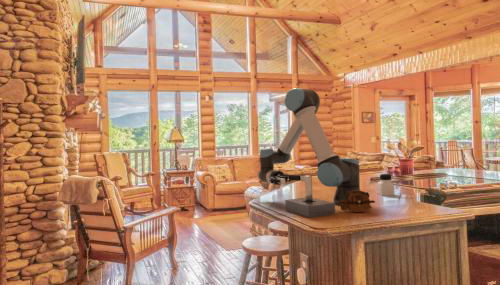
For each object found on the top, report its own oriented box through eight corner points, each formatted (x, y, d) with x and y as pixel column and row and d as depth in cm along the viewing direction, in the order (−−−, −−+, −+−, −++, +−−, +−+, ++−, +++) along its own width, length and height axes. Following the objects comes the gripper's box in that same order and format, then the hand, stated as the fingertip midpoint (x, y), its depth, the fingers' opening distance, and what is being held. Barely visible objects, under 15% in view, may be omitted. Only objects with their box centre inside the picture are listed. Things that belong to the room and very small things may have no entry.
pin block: (285, 210, 181) (285, 199, 181) (310, 207, 187) (309, 197, 187) (308, 217, 163) (308, 206, 163) (335, 214, 169) (334, 203, 169)
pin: (313, 209, 176) (312, 175, 176) (312, 210, 173) (311, 176, 173) (306, 209, 177) (305, 175, 177) (305, 210, 174) (304, 176, 174)
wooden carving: (339, 213, 170) (339, 191, 169) (337, 211, 174) (337, 190, 174) (376, 213, 169) (376, 190, 169) (373, 210, 173) (373, 189, 173)
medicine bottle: (394, 195, 213) (394, 174, 213) (381, 195, 213) (381, 174, 213) (390, 193, 220) (389, 173, 220) (377, 193, 221) (377, 173, 220)
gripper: (295, 182, 209) (317, 185, 190) (255, 186, 199) (274, 190, 180) (295, 168, 209) (317, 171, 190) (254, 172, 199) (273, 174, 180)
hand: (296, 180), depth 185 cm, fingers open, 13 cm apart
